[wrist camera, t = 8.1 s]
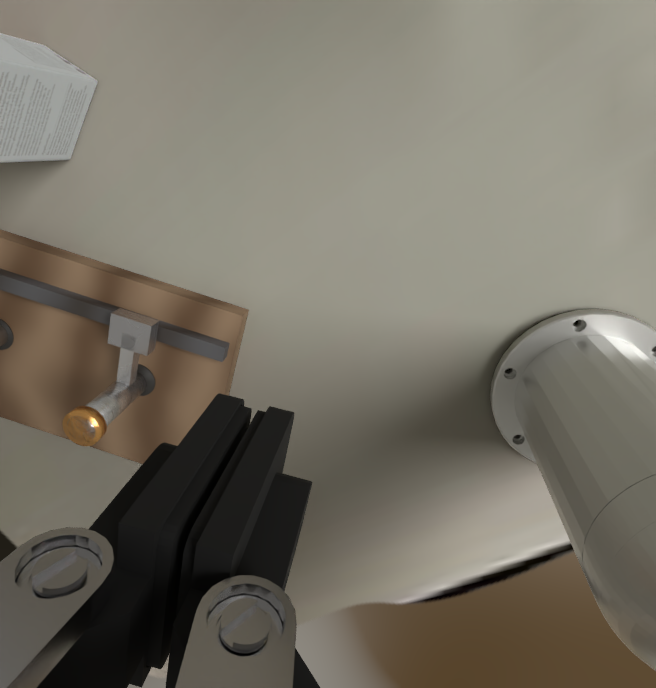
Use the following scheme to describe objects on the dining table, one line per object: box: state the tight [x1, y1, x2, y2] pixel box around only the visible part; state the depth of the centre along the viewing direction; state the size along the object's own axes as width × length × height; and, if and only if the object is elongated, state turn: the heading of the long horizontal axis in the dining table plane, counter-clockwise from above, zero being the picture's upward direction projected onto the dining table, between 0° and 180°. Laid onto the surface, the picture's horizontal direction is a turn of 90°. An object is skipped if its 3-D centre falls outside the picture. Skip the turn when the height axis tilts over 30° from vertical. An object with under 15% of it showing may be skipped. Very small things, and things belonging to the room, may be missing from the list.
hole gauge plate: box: [0, 230, 249, 464], centre depth 36 cm, size 22×16×9 cm
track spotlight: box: [62, 308, 159, 446], centre depth 34 cm, size 3×8×7 cm, turn 164°
